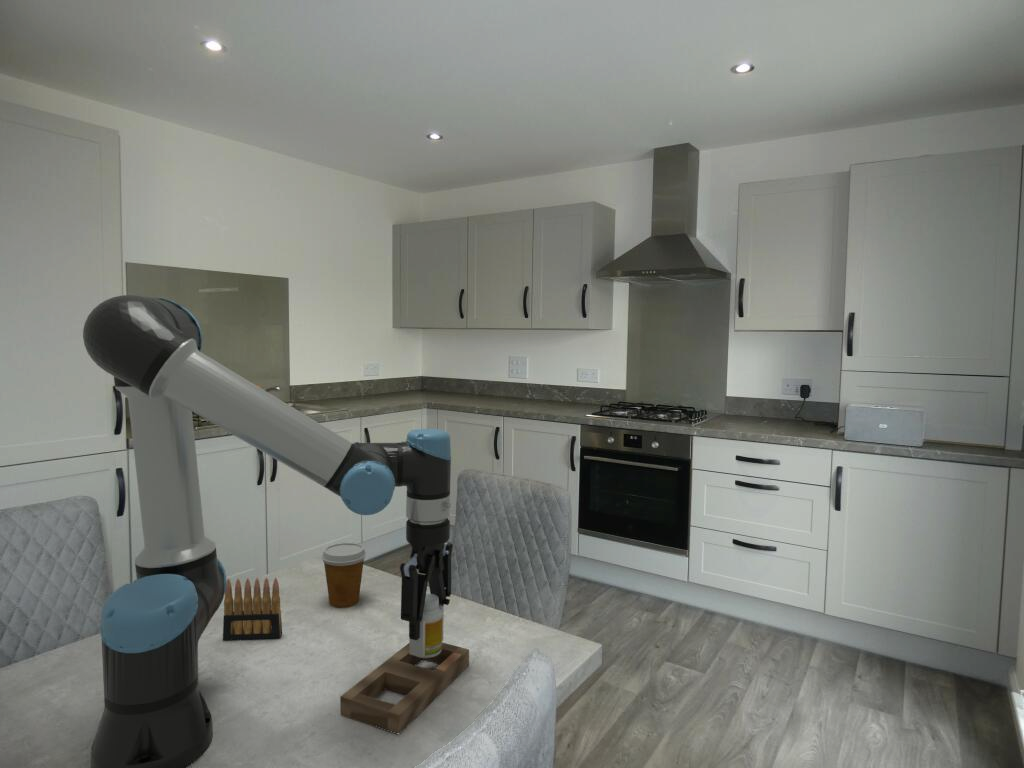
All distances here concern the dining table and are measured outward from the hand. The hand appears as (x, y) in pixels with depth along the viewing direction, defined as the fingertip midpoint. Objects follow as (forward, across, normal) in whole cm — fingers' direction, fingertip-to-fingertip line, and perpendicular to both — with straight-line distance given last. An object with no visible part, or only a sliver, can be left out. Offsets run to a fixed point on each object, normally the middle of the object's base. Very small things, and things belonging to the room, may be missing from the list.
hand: (426, 646), depth 111 cm
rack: (+5, -5, 0) cm, 7 cm away
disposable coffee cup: (+5, +17, +32) cm, 36 cm away
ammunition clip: (+5, -4, +37) cm, 38 cm away
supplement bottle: (+1, 0, 0) cm, 1 cm away
